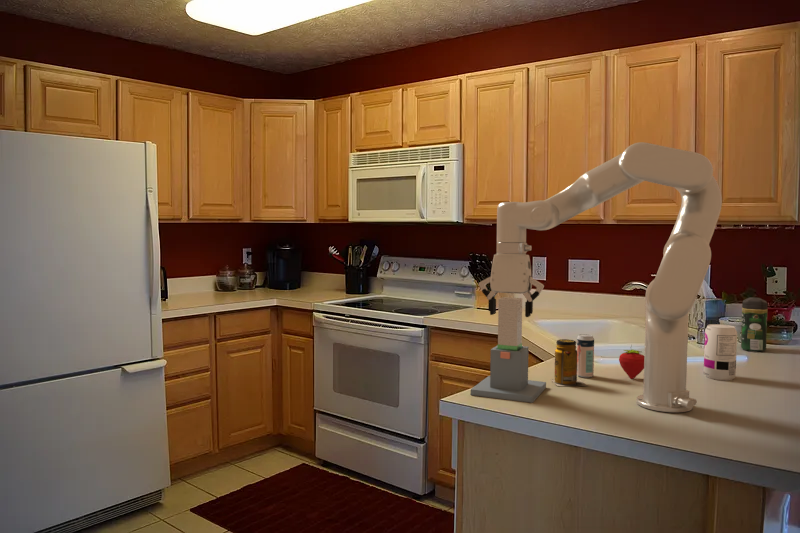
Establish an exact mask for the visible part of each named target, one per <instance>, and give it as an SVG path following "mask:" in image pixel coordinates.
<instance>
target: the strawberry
mask: <svg viewBox="0 0 800 533" xmlns="http://www.w3.org/2000/svg"><path fill="white" fill-rule="evenodd" d="M630 347H632V344H631V346H630ZM623 351H624V352H623V353H621V354H620V355H619V356H618V361H619V365H620V367H621V368H622V370H623V371H624V372H625V374H626V375H627V376H628V378H629V379H631V380H632V379H633V380H634V379H635V378H637V376H638V375H640V373H641V372H643V371H644V355H643V354H641V351H640V350H636V349H623Z"/></svg>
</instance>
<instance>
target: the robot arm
mask: <svg viewBox="0 0 800 533" xmlns="http://www.w3.org/2000/svg"><path fill="white" fill-rule="evenodd" d="M643 182H649V183H653V184H657V185H660V186H661V185H662V186H666V187H671V188H674V189H675V190H676V191H678V193H679V194H680V198H681V206H680V208H679V211H678V214H677V216H676V219H675V220H676V221H675V222H674V226H673V229H672V230H671V233H670V236H669V238H668V240H667V241H666V243H665V245H664V247H663V252H662V254H663V257H662V259H661V262H660V265H659V267H658V270H657V273H656V274H655V278H654V279H652V281H651V282H649V284H648V286H647V288H646V290H645V300H644V302H645V305H644V306H645V316H644V317H645V319H644V320H645V329H644V330H645V331H644V369H643V392H642V393H643V394H640V395H638V396H637V397H636V404H637V405H638V406H640V407H642V408H644V409H647V410H651V411H656V412H657V411H658V412H663V413H685V412H689V411H691V410H693V408H694V406H695V405H697V403H698V401H697V399H696V398H692V397H690V390H687V374H688V373H687V372H688V371H687V370H688V368H687V367H688V346H689V345H688V344H689V312H690V311H691V310H692V308H693V306H694V304H695V301H696V299H697V297H698V294H699V292H700V290H701V287H702V284H703V283H704V280H705V278H706V274H707V273H708V269H709V267H710V263H711V260H712V250H711V247H710V243H711V240H712V237H713V235H714V232H715V228H716V226H717V223H718V220H719V218H720V215H721V211H722V204H723V202H722V201H723V198H722V191H721V189H720V186H719V183H718V181H717V179H716V178H715V176H714V167H713V164H712V162H711V161H710V159H709V158H708V157H706V155H703V154H702V153H698V152H694V151H689V150H684V149H681V148H680V149H679V148H674V147H670V146H664V145H659V144H654V143H649V142H634V143H633V144H630V145H628V146H627V147H626V148H625V150H624V151H623V152H621V153H620V154H618V155H616V156H614V157H613V158H611V159H609V160H607V161H605V162H603V163H601V164H599V165H597V166H596V167H594V168H591V169H590V170H587V171H586V172H584V173H583V174H582V175H580V176H579V177H578V178H577V179H576V180H575V181H574V182H573V183H572V184H571V185H568V186H567V187H565V189H562V190H561V191H559V192H558V193H556V194H554V195H552V196H550V197H549V198H547V199H545V200H541V199H539V200H532V201H526V202H521V201H503V202H500V203H499V204H498V205H497V206H496V210H497V211H496V253H495V254H493V259H492V265H491V272H490V276H489V277H486V278H485V279H483V280H481V281H480V282H478V286H479V288H480V290H481V292H482V294H483V295H484V296H485V297H486V299H487V300H488V304H487V306H488V307H487V308H488V309H487V310H488V312H489V315H490V316H494V315H495V314H497V299H496V296H497V295H498V293H499V294H500V293H501V294H523V296H524V298H525V299H526V301H525V302H524V303H525V304H524V309H525V310H524V313H525V314H524V317H526V318H529V317H531V315H532V314H533V310H534V308H533V307H534V301H535V299H537V298H538V296H540V294H541V293H542V291H543V289H544V287H545V285H544V284H543V283H541V282H540V281H538V280H536V279H535V278H533V277H532V265H531V259H530V255H529V254H527V252H529V251H532V245H529V244H528V243H527V229H528V230H536V231H547V230H550V229H553V228H555V227H557V226H559V225H560V224H562V223H564V222H567V221H568V220H570V219H573V218H575V217H576V216H578V215H579V214H581V213H584V212H586V211H588V210H590V209H592V208H595V207H597V206H598V205H601V204H602V203H605V202H606V201H608V200H610V199H612V198H614V197H616V196H618V195H619V194H621V193H623V192H626V191H627V190H630V189H631V188H633V187H635V186H638V185H640V184H641V183H643ZM487 284H490V285H489V286H490V290H489V289H488V287H487ZM533 286H534V287H535V288H536V289H535V291H534V292H533V293H532V292H531V290H532V287H533Z"/></svg>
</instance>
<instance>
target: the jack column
mask: <svg viewBox="0 0 800 533" xmlns="http://www.w3.org/2000/svg"><path fill="white" fill-rule="evenodd" d="M497 302H498V303H497V304H498V306H497V308H498V310H497V313H498V314H497V315H498V316H497V325H498V326H497V345H496V346H497V349H499V350H511V351H519V350H521V349H522V346H523V342H522V341H523V339H522V338H523V334H522V333H523V298H522V297H505V296H504V297H500V298H498V301H497Z"/></svg>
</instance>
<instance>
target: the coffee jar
mask: <svg viewBox="0 0 800 533" xmlns="http://www.w3.org/2000/svg"><path fill="white" fill-rule="evenodd" d="M740 327H741V328H740V330H741V331H740V332H741V333H740V334H741V335H740V347H741V349H742V350H744V351H749V352H753V353H757V352H765V351H766V350H767V336H768V335H767V331H768V302H767V301H766V300H765V299H762V298H761V297H750V296H749V297H747V298H746V299H743V300H742V305H741V325H740Z"/></svg>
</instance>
